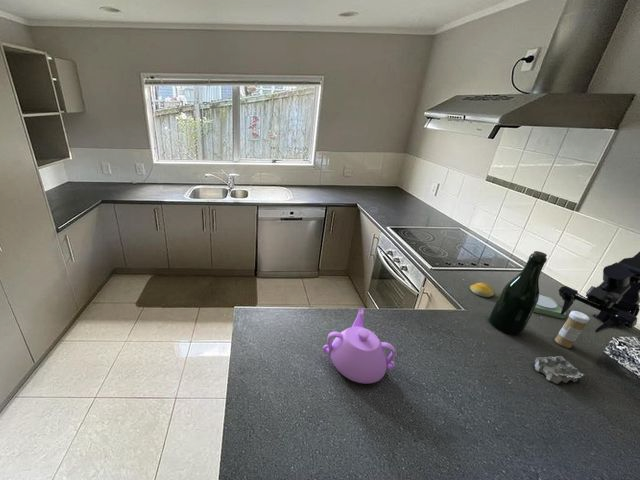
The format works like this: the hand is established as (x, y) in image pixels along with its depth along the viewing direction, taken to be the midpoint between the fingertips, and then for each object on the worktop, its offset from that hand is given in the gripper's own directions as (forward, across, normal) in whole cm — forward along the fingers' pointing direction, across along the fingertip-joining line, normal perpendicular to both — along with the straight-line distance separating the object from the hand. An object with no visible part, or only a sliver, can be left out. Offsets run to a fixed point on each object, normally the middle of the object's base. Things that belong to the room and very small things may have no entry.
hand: (577, 322), depth 100 cm
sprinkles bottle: (+8, 0, +5) cm, 10 cm away
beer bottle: (+16, -13, -2) cm, 21 cm away
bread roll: (+5, -31, +8) cm, 33 cm away
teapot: (+64, -20, -50) cm, 83 cm away
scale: (-4, -17, +18) cm, 25 cm away
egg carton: (+22, +6, -8) cm, 24 cm away
